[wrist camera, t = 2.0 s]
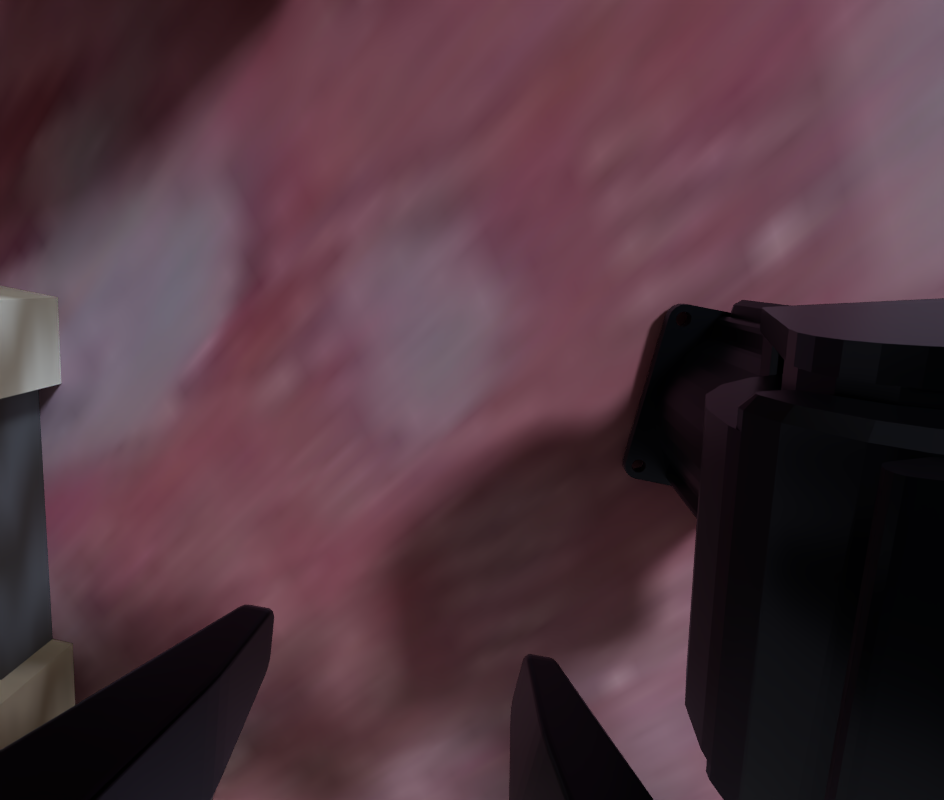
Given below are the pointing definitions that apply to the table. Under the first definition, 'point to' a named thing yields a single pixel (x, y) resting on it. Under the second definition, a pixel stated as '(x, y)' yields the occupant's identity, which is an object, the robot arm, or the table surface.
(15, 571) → the plug
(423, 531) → the table surface
